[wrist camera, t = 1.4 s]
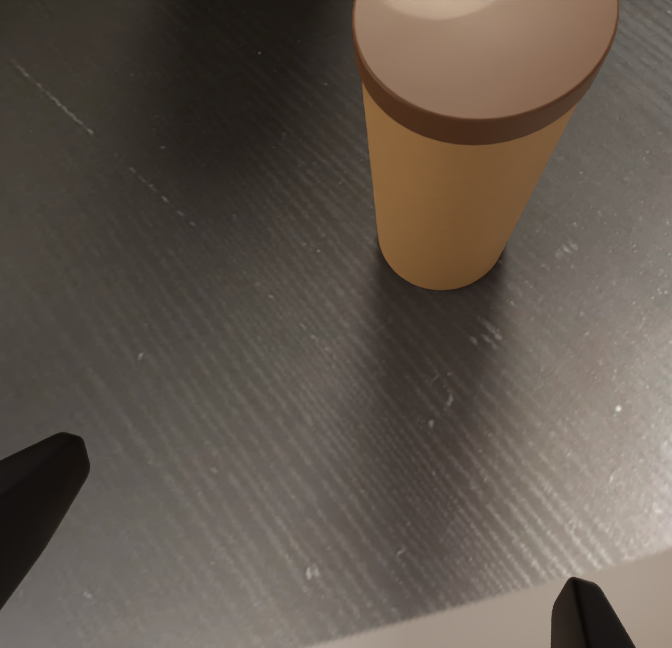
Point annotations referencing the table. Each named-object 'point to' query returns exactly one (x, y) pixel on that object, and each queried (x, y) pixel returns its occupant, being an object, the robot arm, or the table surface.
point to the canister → (467, 119)
